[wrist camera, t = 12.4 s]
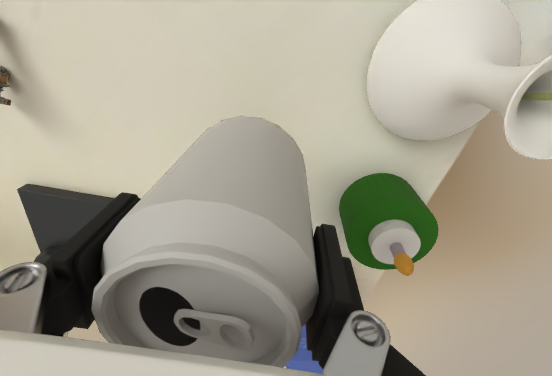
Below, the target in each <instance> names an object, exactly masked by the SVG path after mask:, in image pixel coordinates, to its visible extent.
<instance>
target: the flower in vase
mask: <svg viewBox="0 0 552 376" xmlns="http://www.w3.org/2000/svg"><path fill="white" fill-rule="evenodd" d="M520 55H521V34H520V30H519V26H518V23H517V20H516V18H515V16H514V14H513V13H512V12H511V10H510V9H509V7H508V6H507V5H505V4H504V3H503V2H502V1H501V0H418V1H416V2H415V3H413V4H412V5H411V6H409V7H408V8H406V9H405V10H404V11H403V12H402V13H401V14H400V15H399V16H397V18H396V19H395V20H394V21H393V22H392V23H391V24H390V25H389V27H388V28H387V29H386V31H385V32H384V33H383V35H382V37H381V38H380V40H379V42H378V43H377V45H376V47H375V50H374V52H373V54H372V57H371V60H370V63H369V68H368V73H367V96H368V101H369V104H370V107H371V110H372V112H373V114H374V115H375V117H376V118H377V120H378V121H379V123H380V124H381V125H382V126H383V127H384V128H386V129H387V130H388V131H390V132H391V133H393V134H395V135H397V136H399V137H402V138H405V139H410V140H418V141H425V140H437V139H443V138H446V137H450V136H453V135H455V134H458V133H460V132H462V131H464V130H466V129H468V128H470V127H471V126H473V125H474V124H476V123H477V122H479V121H480V120H481V119H483V118H484V117H485V116H486V115H487V114H488V113H489V112H490V111H491V110H493V111H495V112H496V113H498V114H499V115H500V116H501V117H502V118H504V120H503V127H504V134H505V137H506V139H507V141H508V143H509V145H510V146H511V147H512V148H513V149H514V150H515V151H516V152H517V153H519V154H521V155H522V156H525V157H528V158H531V159H536V160H552V54H551V55H550V56H548V57H547V58H545V59H544V60H543V61H541V62H540V63H539V64H537V65H531V66H520V67H518V65H519V60H520Z"/></svg>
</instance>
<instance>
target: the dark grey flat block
mask: <svg viewBox="0 0 552 376" xmlns="http://www.w3.org/2000/svg"><path fill="white" fill-rule="evenodd" d="M17 190H18V193H19V196H20V198H21V201H22V204H23V206H24V209H25V212H26V214H27V217H28V220H29V222H30V225H31V228H32V230H33V233H34V236H35V238H36V241H37V244H38V246H39V249H40V252H41V254H39V255H38V256H37V257H36V259H35V261H34V262H36V263H40V264H44V263H45V262H46V261H47V260H48V259H49V257H50V256H51V255H52V254H54V253H55V252H56V251H57V250H58V249H59V248H60V247H61V246H62V245H64V244H65V243H66V242H67V241H68V240H69V239H70V238H71V237H73V236H74V235H75V234H76V233H77V232H78V231H79V230H80V229H81V228H83V227H84V226H85V225H86V224H87V223H88V222H89V221H90V220H91V219H93V218H94V217H95V216H96V215H97V214H98V213H99V212H100V211H101V210H103V209H104V208H105V207H106V206H107V205H108V204H109V203H110V202H111V201H113V200H114V198H108V197H102V196H97V195H91V194H85V193H79V192H73V191H67V190H61V189H55V188H49V187H43V186H37V185H31V184H26V185H24V186H23V187H21V188H19V189H17Z"/></svg>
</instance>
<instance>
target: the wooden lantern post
mask: <svg viewBox="0 0 552 376" xmlns="http://www.w3.org/2000/svg"><path fill="white" fill-rule="evenodd" d="M9 76H10V75H8V74H5V68H4V67H2V66H0V93H1V91H4V90H2V89H1V88H3V87H10V86H9V85H7V80H8V77H9ZM0 104H6V105H10V104H11V100H8V99H5V98H4V97H0Z"/></svg>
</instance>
